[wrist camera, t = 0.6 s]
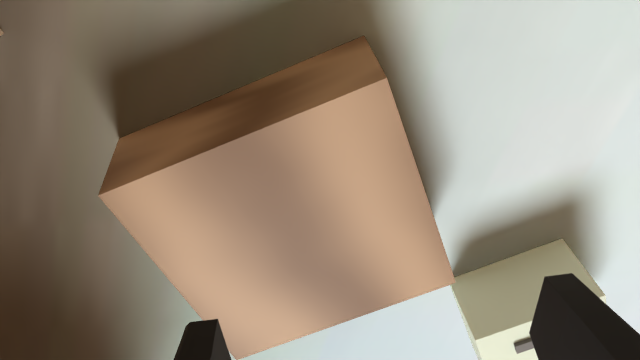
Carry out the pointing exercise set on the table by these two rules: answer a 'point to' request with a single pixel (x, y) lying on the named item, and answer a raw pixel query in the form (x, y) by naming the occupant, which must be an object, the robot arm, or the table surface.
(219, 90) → the table surface
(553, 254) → the numbered block seven
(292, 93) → the plain walnut block
